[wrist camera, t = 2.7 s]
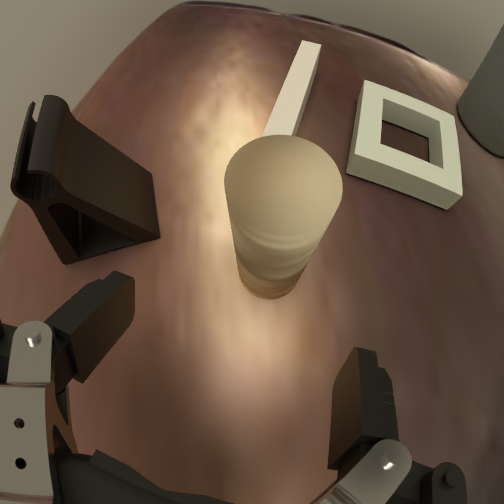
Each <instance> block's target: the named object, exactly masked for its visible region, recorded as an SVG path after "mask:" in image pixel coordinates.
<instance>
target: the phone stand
mask: <svg viewBox="0 0 504 504" xmlns="http://www.w3.org/2000/svg"><path fill="white" fill-rule="evenodd" d="M34 108H35V103H34V102H32V103H31V104H30V106H29V108H28V111H27V114H26V118H25V121H24V125H23V129H22V133H21V137H20V141H19V145H18V149H17V154H16V158H15V163H14V168H13V174H12V179H11V190H12V192H13V194H14V195H15V196H16V197H18V198H19V199H21V200H22V201H24V202H25V203H27V204H28V205H29V206H30V207H31V209H32V210H33V212H34V213H35V215H36V217H37V219H38V221H39V223H40V225H41V227H42V229H43V230H44V232H45V234H46V236H47V238H48V239H49V241H50V243H51V245H52V246H53V248H54V250H55V252H56V253H57V255H58V257H59V258H60V260H61V262H62V263H63V264H70V263H74V262H77V261H81V260H84V259H87V258H91V257H94V256H98V255H101V254H105V253H108V251H115V250H119V249H122V248H126V247H130V246H133V245H137V244H140V243H144V242H148V241H152V240H155V239H158V238H160V234H159V228H158V221H157V214H156V207H155V200H154V192H153V184H152V175H151V173H150V172H149V171H147V170H146V169H144V168H143V167H142V166H140V165H139V164H137V163H136V162H134V161H133V160H132V159H130V158H129V157H127V156H126V155H125V154H123V153H122V152H120V151H119V150H118V149H116V148H115V147H113V146H112V145H111V144H109V143H108V142H106V141H105V140H104V139H102V138H101V137H99V136H98V135H97V134H95V133H94V132H92V131H91V130H89V129H88V128H87V127H85V126H84V125H82V124H81V123H80V122H78V121H77V120H76V119H75V118H74V116H73V115H72V113H71V112H70V109H69V107H68V104H67V103H66V102H65V101H64V100H63V99H62V98H60V97H58V96H54V95H45V96H44V99H43V102H42V106H41V109H40V113H39V117H38V121H37V122H35V121H34V119H33V118H32V115H33V111H34Z"/></svg>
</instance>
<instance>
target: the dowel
mask: <svg viewBox="0 0 504 504" xmlns="http://www.w3.org/2000/svg"><path fill="white" fill-rule="evenodd" d="M224 186H225V193H226V199H227V205H228V211H229V217H230V223H231V229H232V235H233V241H234V247H235V253H236V259H237V264H238V270H239V276H240V279H241V282H242V284H243V285H244V287H245V288H246V289H247V290H248V291H249V292H250V293H252V294H253V295H255V296H257V297H259V298H263V299H276V298H279V297H282V296H284V295H286V294H287V293H289V292H290V291H291V290H292V289H293V288H294V286H295V285H296V283H297V281H298V280H299V278H300V276H301V274H302V272H303V271H304V269H305V267H306V265H307V264H308V262H309V260H310V258H311V256H312V255H313V253H314V251H315V249H316V247H317V246H318V244H319V242H320V240H321V238H322V236H323V235H324V233H325V231H326V229H327V227H328V225H329V223H330V222H331V220H332V218H333V216H334V214H335V212H336V210H337V208H338V206H339V204H340V201H341V197H342V190H343V189H342V179H341V175H340V172H339V170H338V168H337V166H336V164H335V163H334V161H333V160H332V158H331V157H330V156H329V155H328V154H327V153H326V152H325V151H324V150H323V149H321V148H320V147H319V146H317V145H315V144H314V143H312V142H310V141H308V140H305V139H303V138H300V137H296V136H291V135H269V136H264V137H261V138H258V139H255V140H253V141H251V142H249V143H247V144H246V145H244V146H243V147H242V148H240V149H239V150H238V151H237V152H236V153H235V154H234V156H233V157H232V158H231V160H230V162H229V164H228V166H227V169H226V172H225V178H224Z"/></svg>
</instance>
